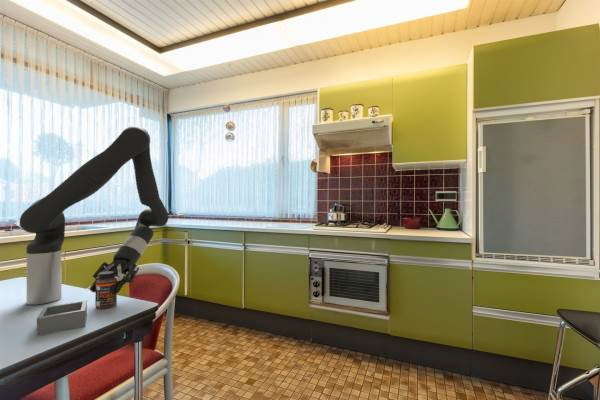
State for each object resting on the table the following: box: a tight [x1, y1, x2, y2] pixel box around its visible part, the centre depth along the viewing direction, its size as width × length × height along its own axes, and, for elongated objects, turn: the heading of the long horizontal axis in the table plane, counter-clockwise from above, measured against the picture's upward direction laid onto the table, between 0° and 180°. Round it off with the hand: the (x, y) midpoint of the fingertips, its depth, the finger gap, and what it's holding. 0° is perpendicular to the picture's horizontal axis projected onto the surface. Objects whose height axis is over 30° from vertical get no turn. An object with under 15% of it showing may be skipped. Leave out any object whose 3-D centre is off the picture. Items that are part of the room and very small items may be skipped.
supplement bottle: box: [94, 271, 118, 310], centre depth 95 cm, size 6×6×11 cm
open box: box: [36, 299, 88, 337], centre depth 81 cm, size 10×10×4 cm
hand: (102, 292), depth 93 cm, fingers open, 8 cm apart
